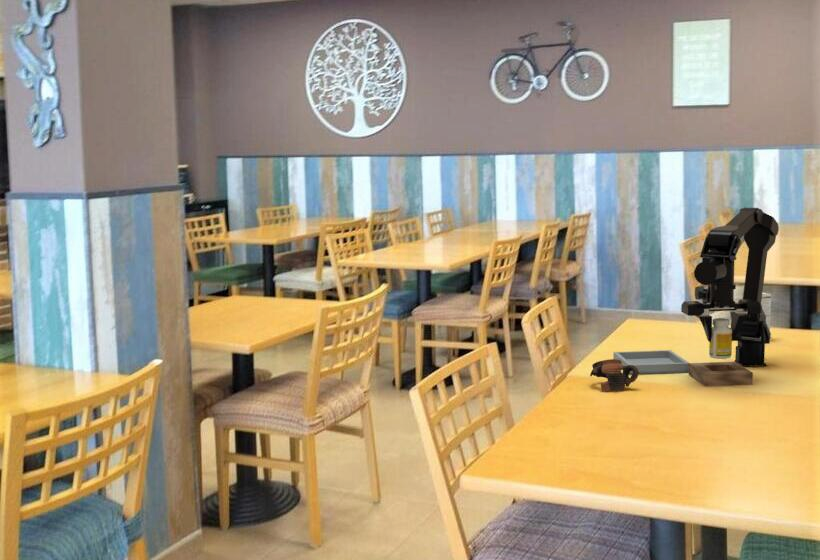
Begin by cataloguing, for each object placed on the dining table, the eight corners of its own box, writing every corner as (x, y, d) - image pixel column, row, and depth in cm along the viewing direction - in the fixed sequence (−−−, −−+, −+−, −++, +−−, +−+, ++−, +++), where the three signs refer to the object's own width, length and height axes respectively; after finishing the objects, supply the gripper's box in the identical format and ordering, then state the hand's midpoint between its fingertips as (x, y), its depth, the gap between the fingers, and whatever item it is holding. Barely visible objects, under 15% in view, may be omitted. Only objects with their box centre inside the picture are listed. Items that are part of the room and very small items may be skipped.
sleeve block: (734, 372, 253) (734, 361, 253) (752, 384, 241) (752, 372, 241) (688, 374, 253) (688, 363, 252) (704, 386, 241) (705, 374, 240)
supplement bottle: (704, 357, 246) (705, 319, 245) (717, 353, 250) (717, 316, 248) (723, 360, 242) (724, 322, 241) (735, 356, 246) (736, 319, 244)
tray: (670, 358, 270) (670, 350, 270) (689, 372, 255) (689, 363, 254) (613, 360, 270) (613, 352, 269) (629, 374, 254) (629, 365, 253)
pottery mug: (589, 394, 238) (584, 362, 241) (599, 402, 246) (594, 370, 249) (638, 384, 234) (632, 352, 237) (646, 393, 242) (640, 361, 245)
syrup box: (741, 339, 293) (742, 292, 290) (758, 338, 294) (759, 290, 292) (753, 343, 287) (755, 294, 285) (770, 341, 289) (772, 293, 287)
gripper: (746, 274, 252) (744, 333, 254) (674, 276, 251) (673, 335, 253) (763, 280, 241) (761, 342, 243) (689, 282, 240) (688, 345, 242)
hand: (720, 341), depth 246 cm, fingers closed on supplement bottle, 5 cm apart
